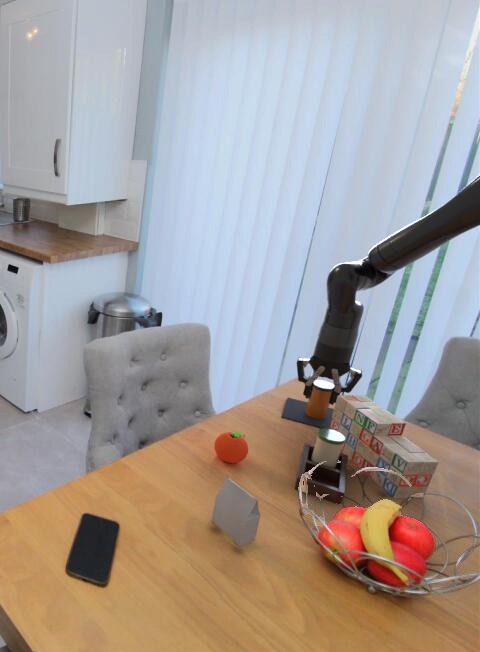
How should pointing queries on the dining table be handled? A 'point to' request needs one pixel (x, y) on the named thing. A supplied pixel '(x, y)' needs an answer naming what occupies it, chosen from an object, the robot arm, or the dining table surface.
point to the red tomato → (231, 447)
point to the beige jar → (328, 447)
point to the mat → (297, 413)
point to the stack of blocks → (381, 446)
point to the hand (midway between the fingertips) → (319, 399)
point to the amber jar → (319, 399)
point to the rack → (323, 476)
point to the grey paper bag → (236, 513)
